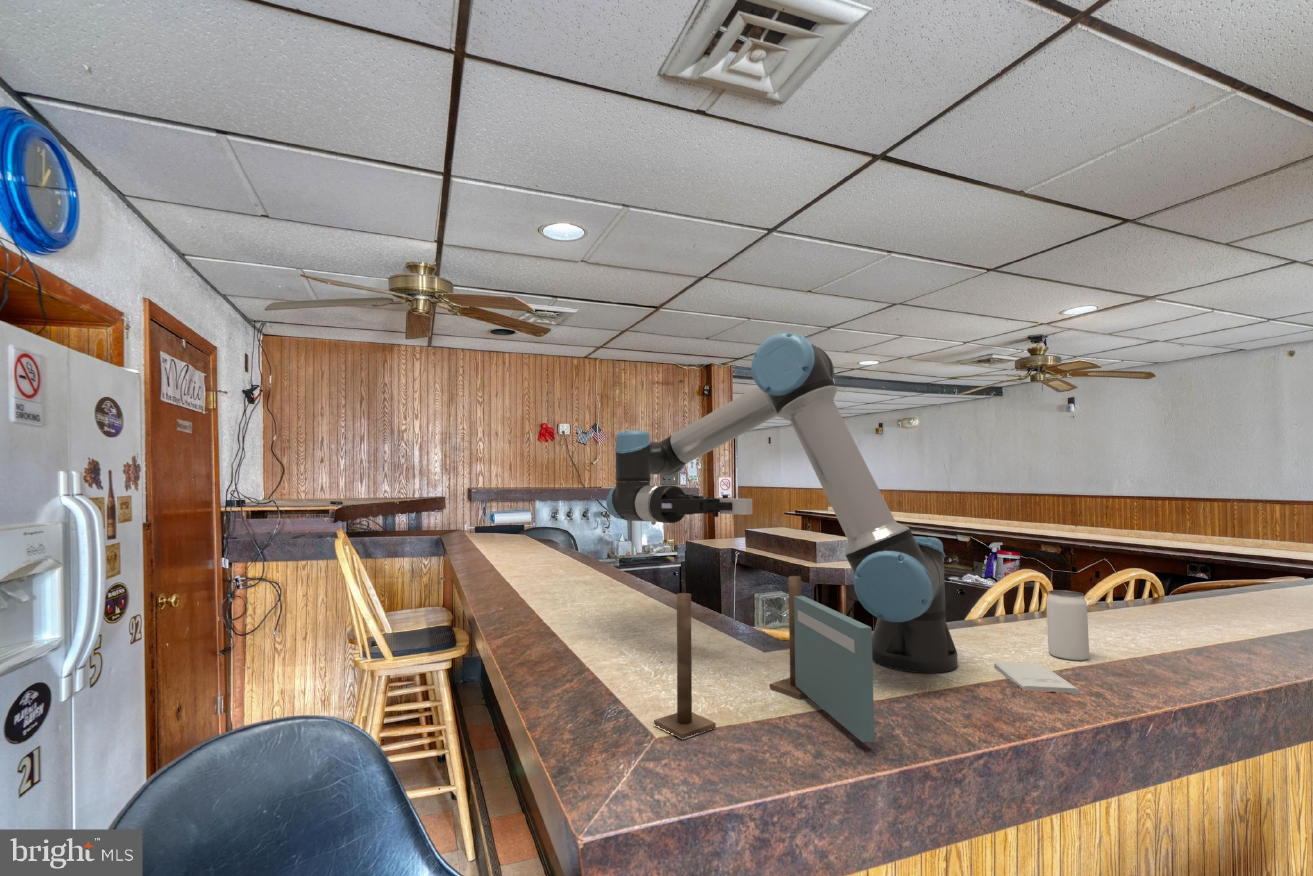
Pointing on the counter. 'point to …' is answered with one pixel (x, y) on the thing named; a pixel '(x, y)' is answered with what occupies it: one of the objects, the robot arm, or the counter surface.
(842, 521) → the robot arm
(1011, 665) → the external hard drive
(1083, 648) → the can
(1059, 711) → the counter surface
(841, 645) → the gate door
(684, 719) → the gate frame
